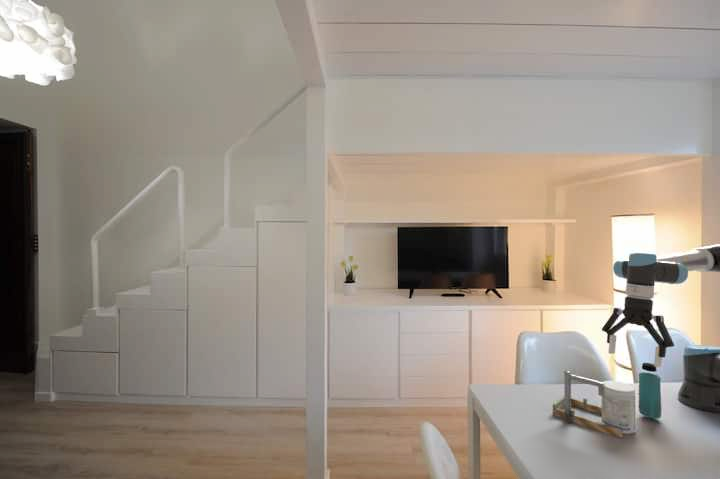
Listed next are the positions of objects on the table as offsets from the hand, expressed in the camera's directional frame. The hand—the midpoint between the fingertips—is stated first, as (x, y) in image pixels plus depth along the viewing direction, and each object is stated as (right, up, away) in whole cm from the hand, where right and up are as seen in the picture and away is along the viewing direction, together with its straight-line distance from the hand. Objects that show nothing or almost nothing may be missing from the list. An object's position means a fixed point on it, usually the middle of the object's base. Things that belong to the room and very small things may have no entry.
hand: (633, 359), depth 120 cm
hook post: (-16, -24, +2) cm, 29 cm away
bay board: (-9, -25, +8) cm, 27 cm away
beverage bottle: (+13, -25, +9) cm, 29 cm away
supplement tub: (-4, -25, +2) cm, 25 cm away
